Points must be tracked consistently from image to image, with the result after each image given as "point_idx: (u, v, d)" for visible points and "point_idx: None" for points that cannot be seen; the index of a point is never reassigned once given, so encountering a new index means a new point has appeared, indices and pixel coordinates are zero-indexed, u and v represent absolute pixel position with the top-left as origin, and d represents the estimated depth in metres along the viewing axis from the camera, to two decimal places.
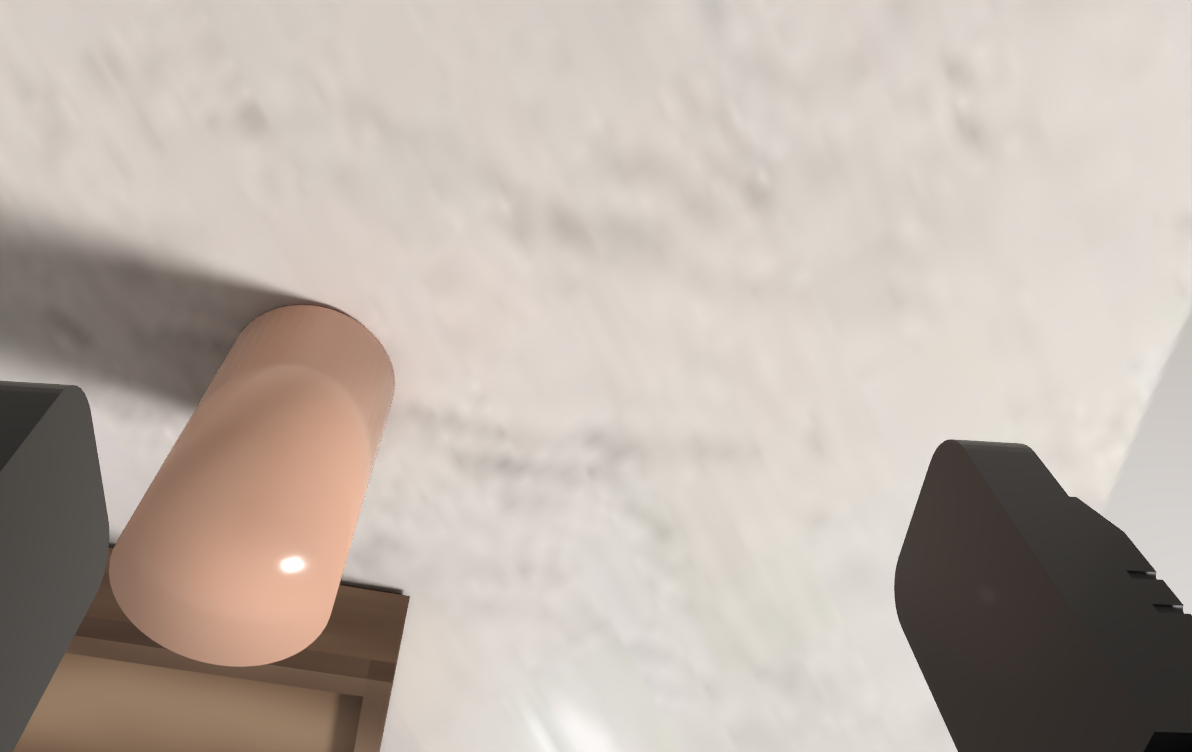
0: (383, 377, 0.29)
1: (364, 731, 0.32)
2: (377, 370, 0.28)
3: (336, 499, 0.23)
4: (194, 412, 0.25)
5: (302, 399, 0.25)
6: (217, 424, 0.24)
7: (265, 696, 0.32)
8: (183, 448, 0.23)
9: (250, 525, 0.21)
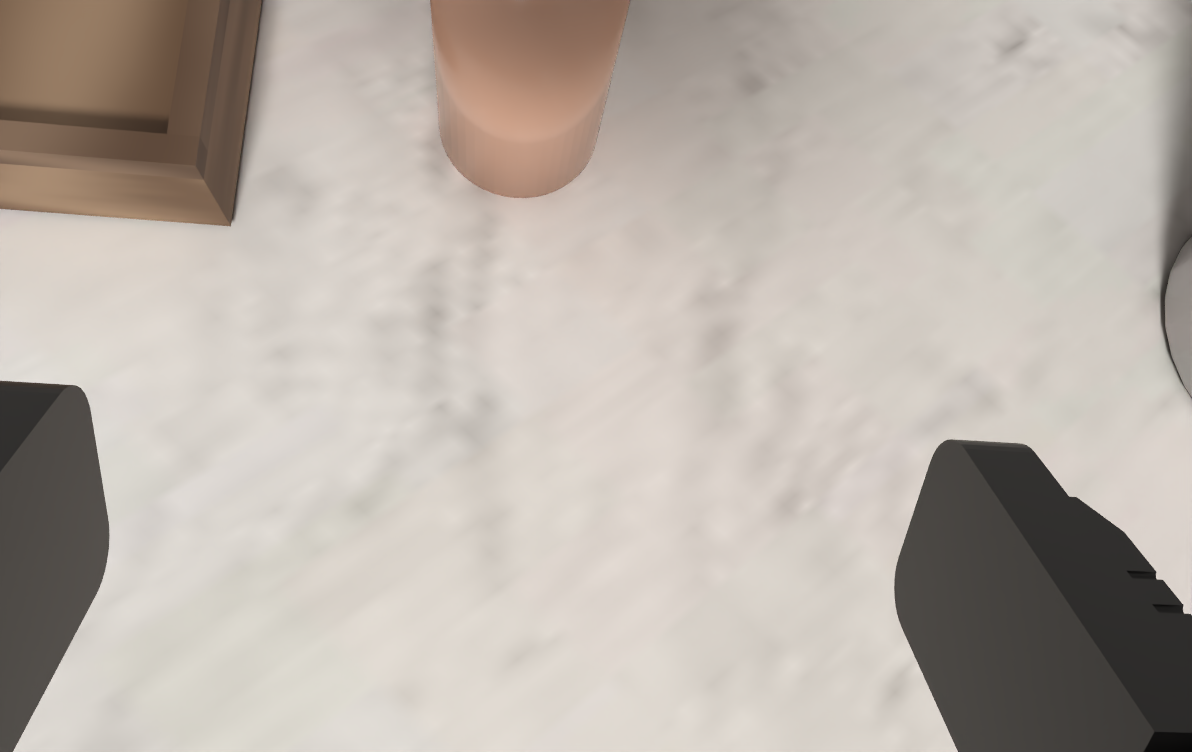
0: (557, 174, 0.29)
1: (98, 136, 0.25)
2: (565, 168, 0.29)
3: (586, 56, 0.24)
4: None
5: (614, 63, 0.26)
6: None
7: (130, 37, 0.27)
8: None
9: None
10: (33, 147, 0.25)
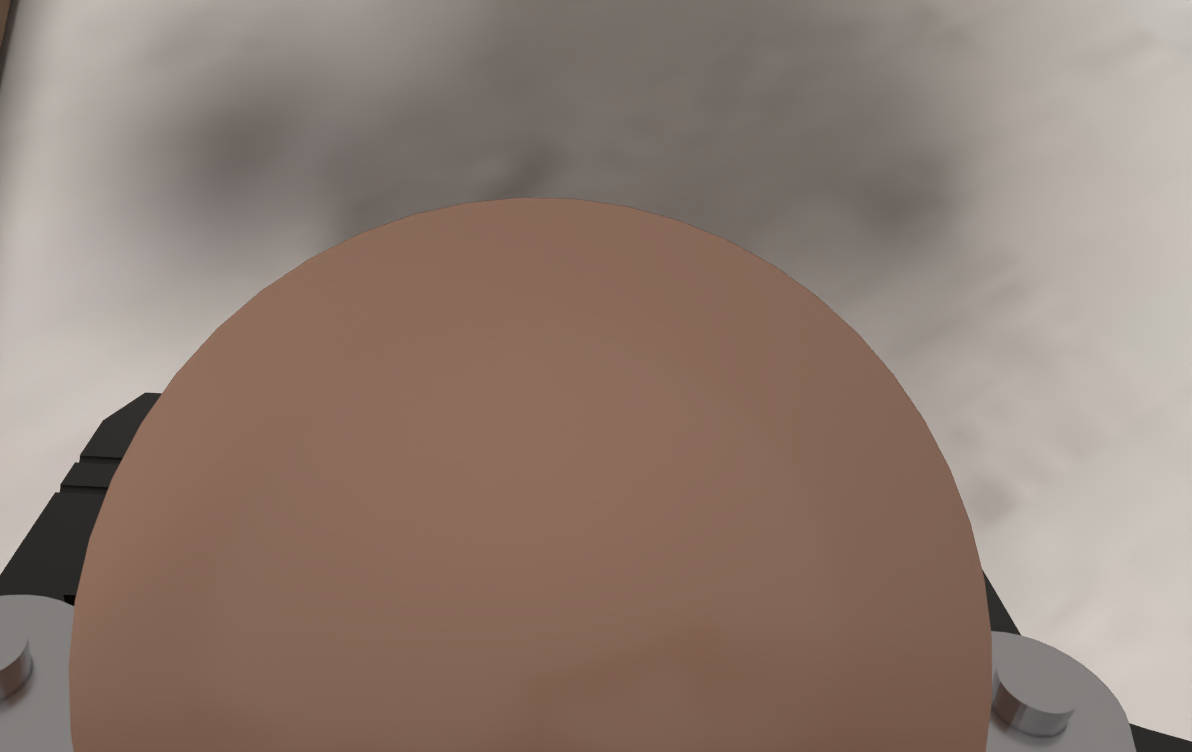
0: None
1: None
2: None
3: None
4: None
5: None
6: None
7: None
8: None
9: (918, 726, 0.05)
10: None
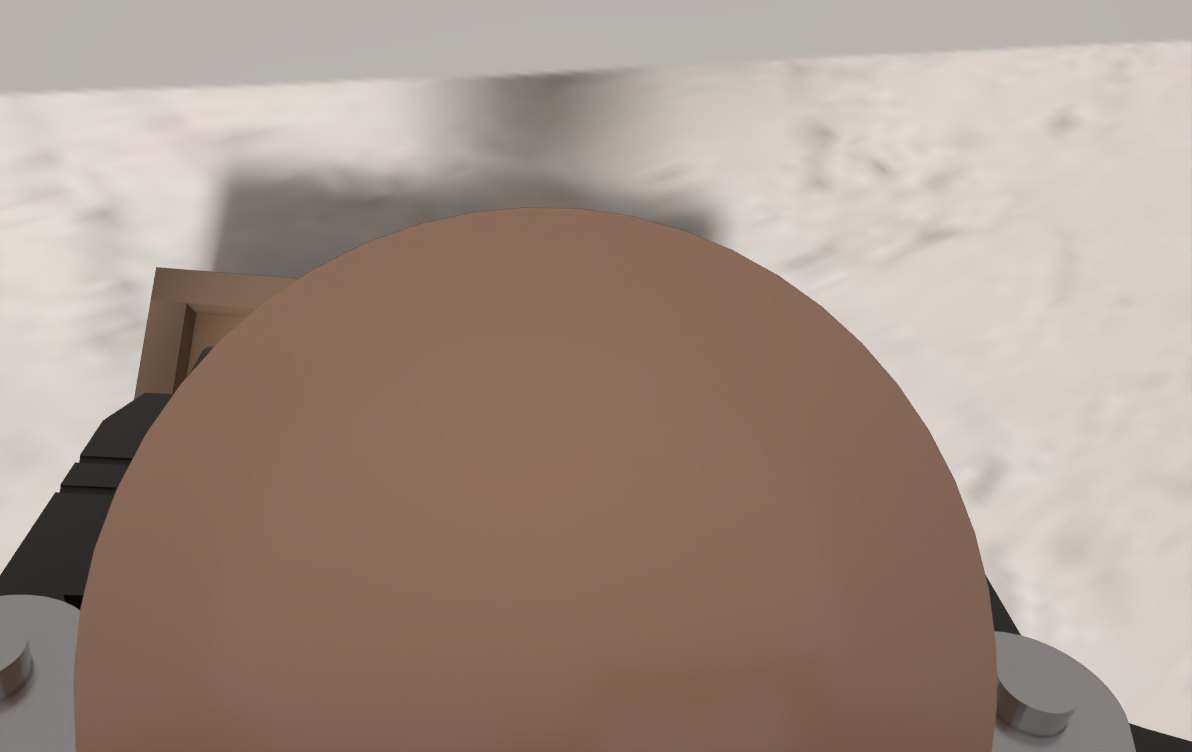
0: None
1: None
2: None
3: None
4: None
5: None
6: None
7: None
8: None
9: (921, 737, 0.05)
10: None
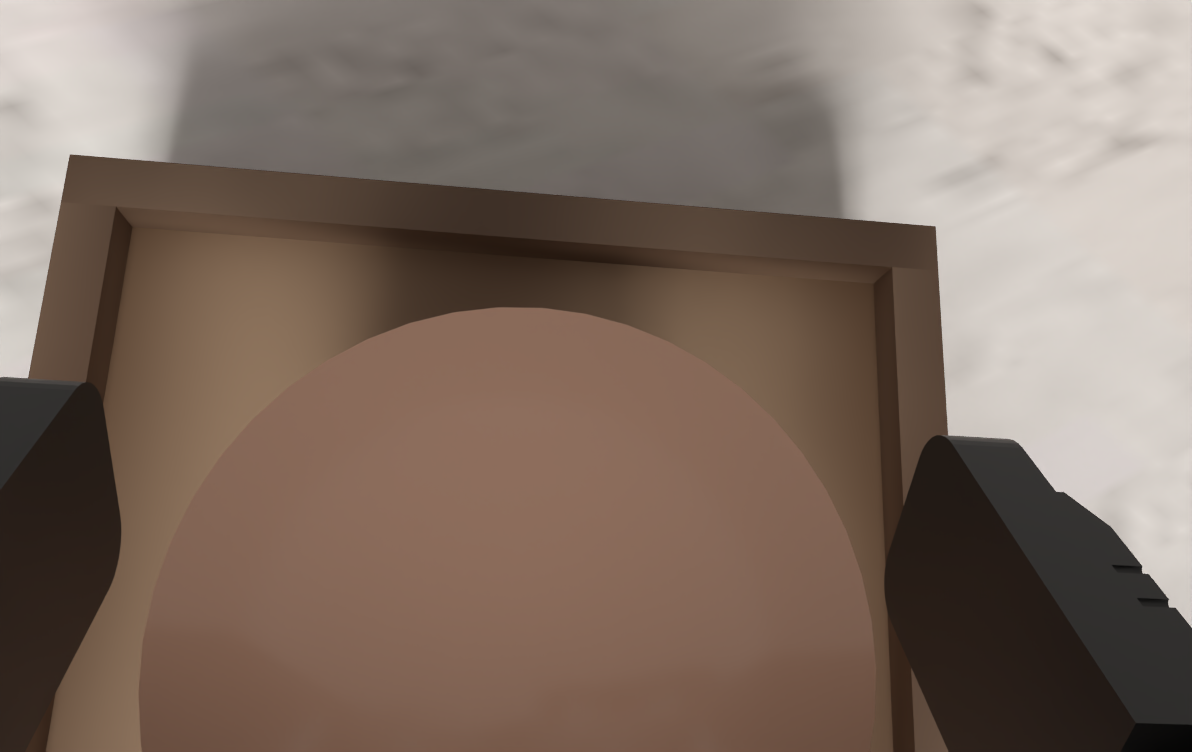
0: None
1: None
2: None
3: None
4: None
5: None
6: None
7: None
8: None
9: (813, 740, 0.07)
10: None
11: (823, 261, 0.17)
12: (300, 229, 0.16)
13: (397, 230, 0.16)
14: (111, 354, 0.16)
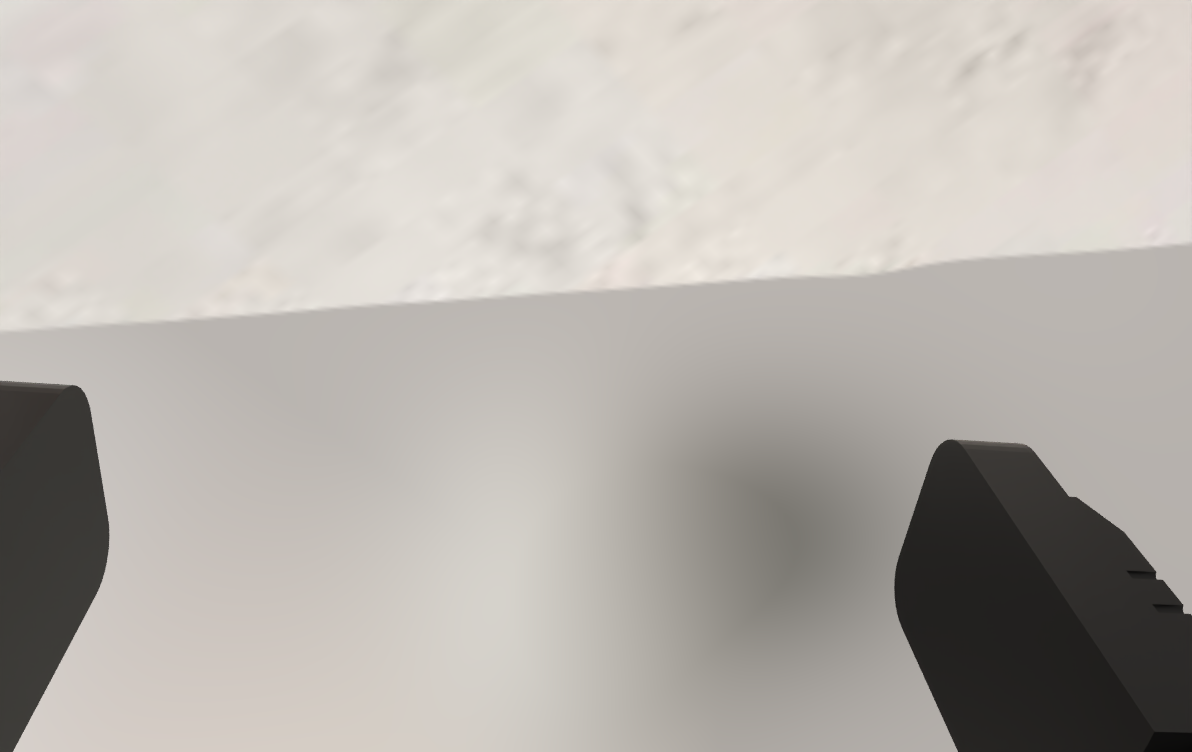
0: None
1: None
2: None
3: None
4: None
5: None
6: None
7: None
8: None
9: None
10: None
11: None
12: None
13: None
14: None
